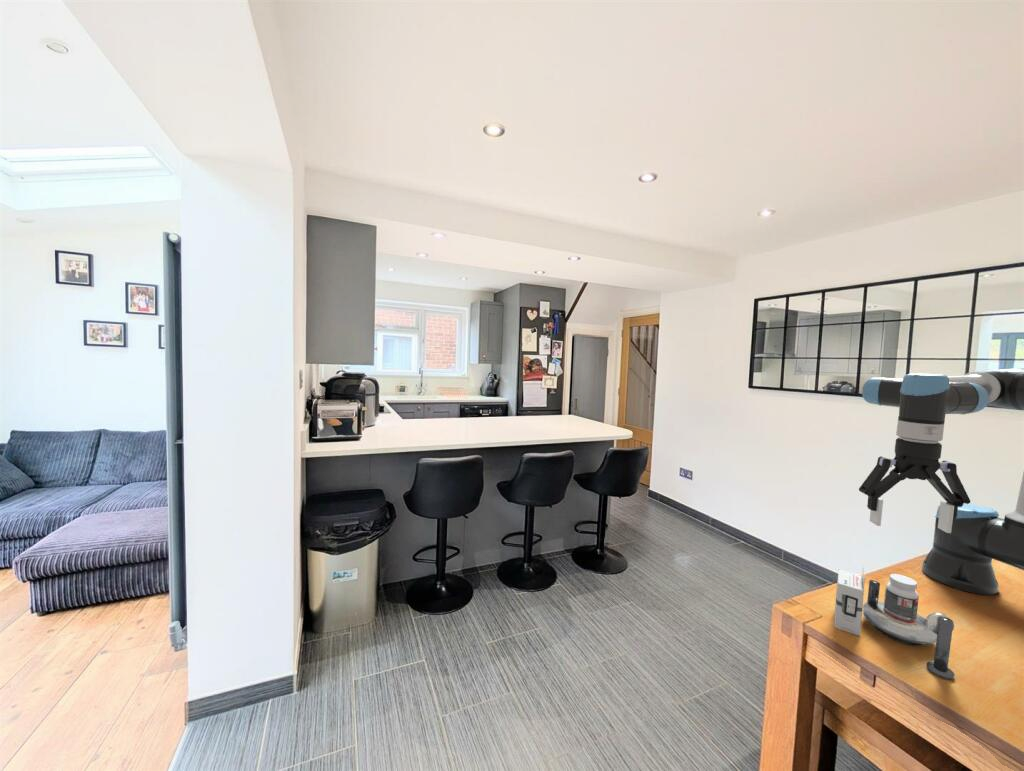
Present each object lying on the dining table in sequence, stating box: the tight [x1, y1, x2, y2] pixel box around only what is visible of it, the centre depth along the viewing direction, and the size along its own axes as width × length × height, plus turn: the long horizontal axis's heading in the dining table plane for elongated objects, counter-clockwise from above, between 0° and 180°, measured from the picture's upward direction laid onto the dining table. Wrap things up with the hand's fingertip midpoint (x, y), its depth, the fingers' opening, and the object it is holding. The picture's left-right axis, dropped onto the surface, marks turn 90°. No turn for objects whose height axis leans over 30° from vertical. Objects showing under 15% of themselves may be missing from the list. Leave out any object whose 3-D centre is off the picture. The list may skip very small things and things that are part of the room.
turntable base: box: [872, 624, 924, 647], centre depth 95 cm, size 9×9×2 cm
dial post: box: [925, 612, 955, 681], centre depth 83 cm, size 4×4×12 cm
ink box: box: [834, 564, 866, 637], centre depth 97 cm, size 8×5×15 cm, turn 140°
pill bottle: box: [883, 573, 920, 625], centre depth 95 cm, size 6×6×10 cm
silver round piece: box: [862, 579, 937, 645], centre depth 95 cm, size 13×13×8 cm
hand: (909, 527), depth 93 cm, fingers open, 13 cm apart
